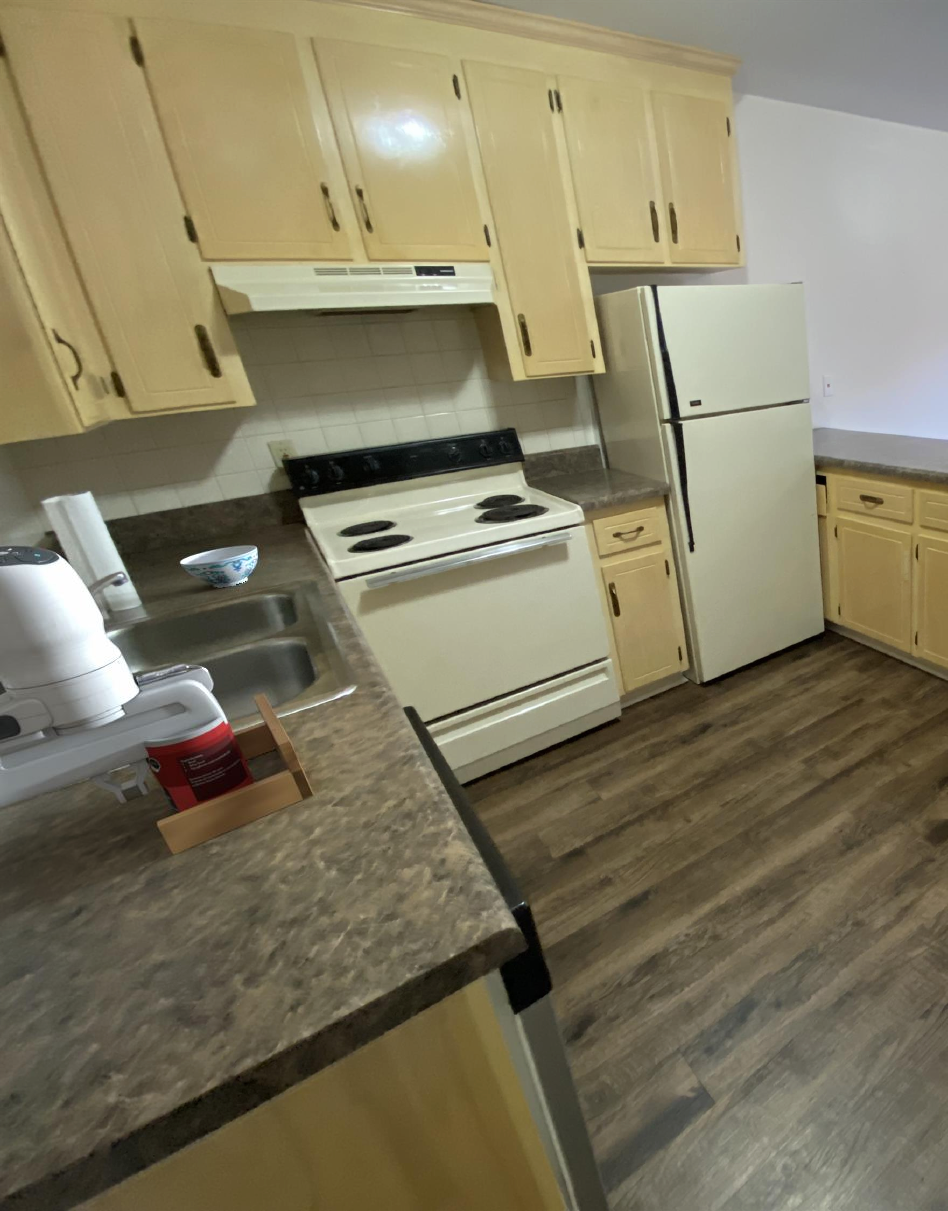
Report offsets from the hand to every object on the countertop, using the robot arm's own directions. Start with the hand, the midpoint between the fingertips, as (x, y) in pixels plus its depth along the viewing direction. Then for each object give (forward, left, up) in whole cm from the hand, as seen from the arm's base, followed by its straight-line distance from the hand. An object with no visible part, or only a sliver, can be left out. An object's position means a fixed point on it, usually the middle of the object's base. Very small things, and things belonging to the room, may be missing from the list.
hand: (136, 796), depth 76 cm
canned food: (+6, 0, -4) cm, 8 cm away
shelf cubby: (+8, 0, -4) cm, 9 cm away
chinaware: (+20, +115, -4) cm, 117 cm away
